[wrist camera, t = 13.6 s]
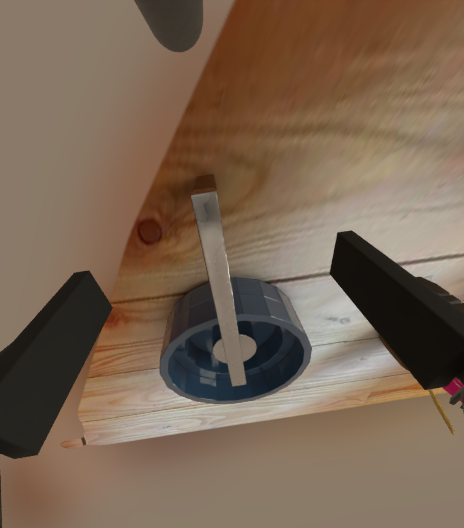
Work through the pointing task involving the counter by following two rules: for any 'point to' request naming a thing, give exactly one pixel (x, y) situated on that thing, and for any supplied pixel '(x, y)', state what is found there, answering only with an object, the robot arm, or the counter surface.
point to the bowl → (256, 368)
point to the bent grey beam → (221, 283)
